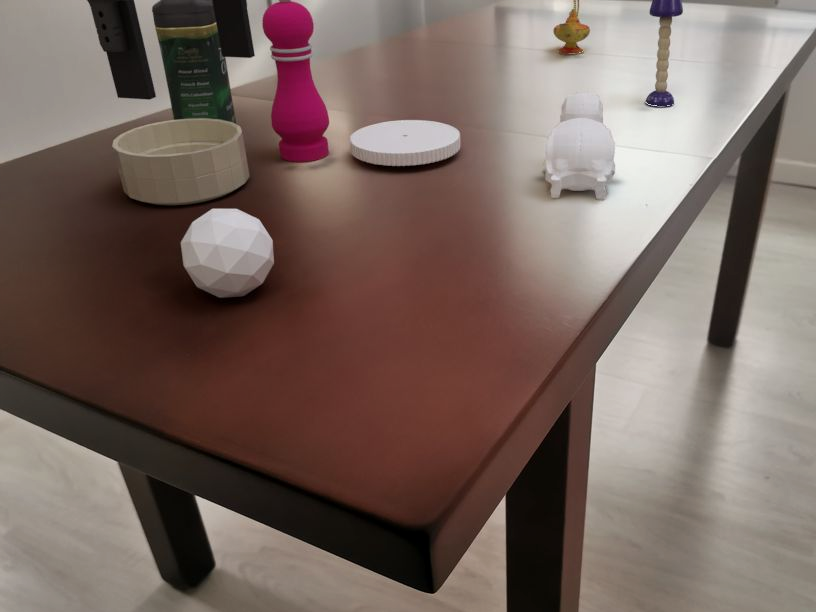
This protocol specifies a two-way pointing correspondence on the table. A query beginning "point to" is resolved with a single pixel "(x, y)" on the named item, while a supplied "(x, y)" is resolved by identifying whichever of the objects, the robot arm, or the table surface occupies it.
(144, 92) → the robot arm
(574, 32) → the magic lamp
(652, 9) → the toy lamp
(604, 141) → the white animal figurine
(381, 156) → the plastic lid
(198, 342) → the table surface
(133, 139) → the bowl
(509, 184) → the table surface
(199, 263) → the geometric ball
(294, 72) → the pepper mill
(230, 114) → the coffee jar
